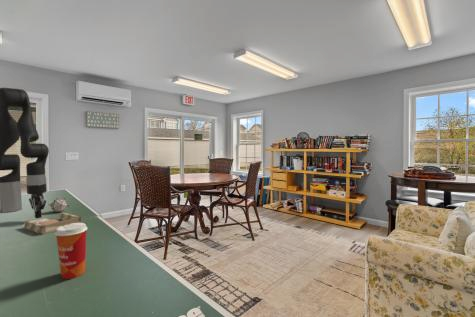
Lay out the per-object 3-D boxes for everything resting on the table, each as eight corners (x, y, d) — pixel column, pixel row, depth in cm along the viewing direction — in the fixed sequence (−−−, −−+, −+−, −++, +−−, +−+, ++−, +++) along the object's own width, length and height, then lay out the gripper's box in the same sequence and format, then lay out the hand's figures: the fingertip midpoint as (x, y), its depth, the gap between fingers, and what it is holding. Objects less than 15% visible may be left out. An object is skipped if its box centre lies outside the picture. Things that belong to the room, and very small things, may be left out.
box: (24, 228, 107) (24, 220, 107) (63, 219, 121) (62, 212, 121) (42, 234, 99) (42, 226, 99) (81, 224, 113) (81, 216, 112)
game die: (63, 217, 136) (75, 203, 138) (51, 216, 128) (64, 201, 130) (54, 209, 138) (65, 194, 140) (41, 207, 130) (53, 192, 132)
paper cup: (51, 277, 66) (48, 228, 66) (80, 264, 73) (78, 220, 72) (66, 284, 63) (63, 233, 62) (95, 270, 69) (93, 224, 69)
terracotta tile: (39, 229, 107) (38, 222, 107) (54, 225, 112) (54, 219, 112) (43, 231, 104) (43, 225, 104) (59, 227, 109) (59, 221, 108)
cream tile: (29, 227, 109) (29, 221, 109) (45, 224, 114) (45, 218, 114) (34, 230, 106) (33, 223, 106) (50, 226, 111) (50, 220, 110)
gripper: (21, 183, 117) (23, 217, 118) (33, 185, 110) (35, 221, 111) (39, 181, 123) (41, 214, 124) (51, 183, 117) (53, 217, 118)
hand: (38, 217), depth 118 cm, fingers closed
